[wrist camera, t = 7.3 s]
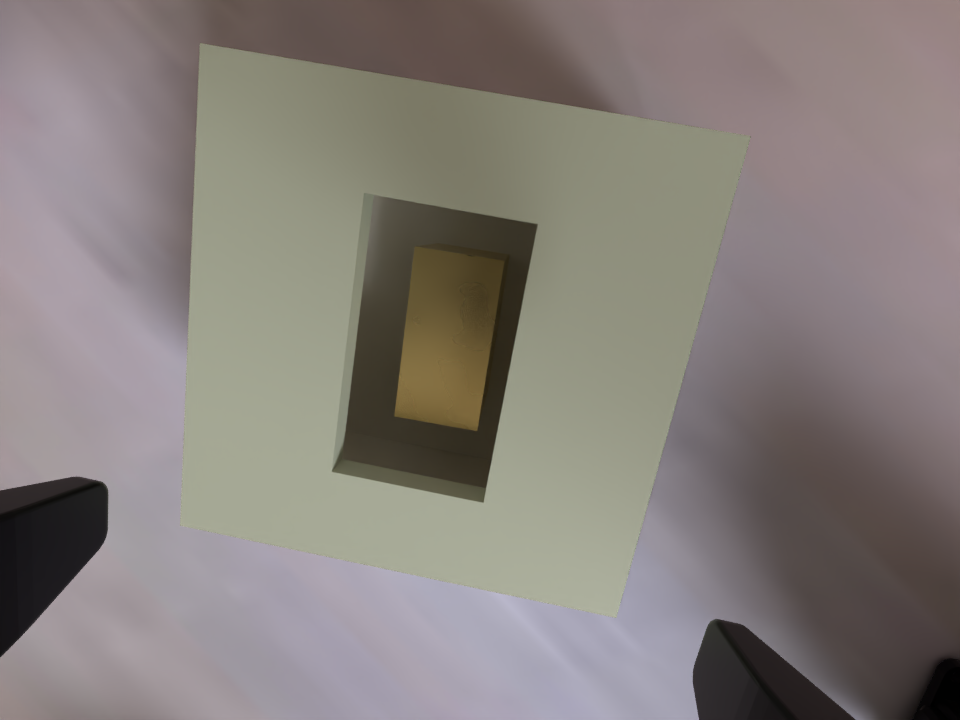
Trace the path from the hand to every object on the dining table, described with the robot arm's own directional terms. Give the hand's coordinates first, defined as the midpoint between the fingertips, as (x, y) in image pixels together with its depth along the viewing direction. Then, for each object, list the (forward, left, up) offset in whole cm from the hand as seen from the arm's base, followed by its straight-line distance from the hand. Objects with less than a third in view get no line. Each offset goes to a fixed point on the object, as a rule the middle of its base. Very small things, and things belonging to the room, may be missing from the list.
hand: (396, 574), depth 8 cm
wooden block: (+1, -2, -12) cm, 12 cm away
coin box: (+1, -2, -13) cm, 13 cm away
